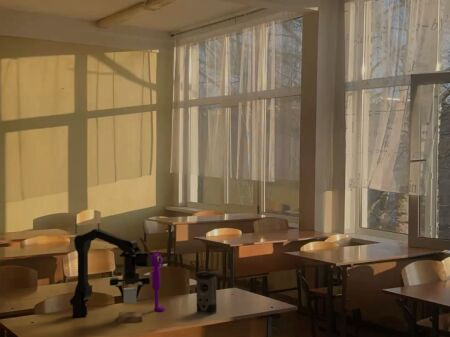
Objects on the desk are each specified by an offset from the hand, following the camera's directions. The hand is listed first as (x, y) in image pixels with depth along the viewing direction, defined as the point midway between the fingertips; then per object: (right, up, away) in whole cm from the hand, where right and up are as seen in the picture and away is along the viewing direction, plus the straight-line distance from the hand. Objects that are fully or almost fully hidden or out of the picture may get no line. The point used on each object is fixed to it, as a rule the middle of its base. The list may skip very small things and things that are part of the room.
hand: (130, 299), depth 291 cm
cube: (0, -1, 0) cm, 1 cm away
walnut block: (0, -10, 0) cm, 10 cm away
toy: (+11, -10, +18) cm, 23 cm away
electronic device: (+36, -10, +13) cm, 39 cm away
